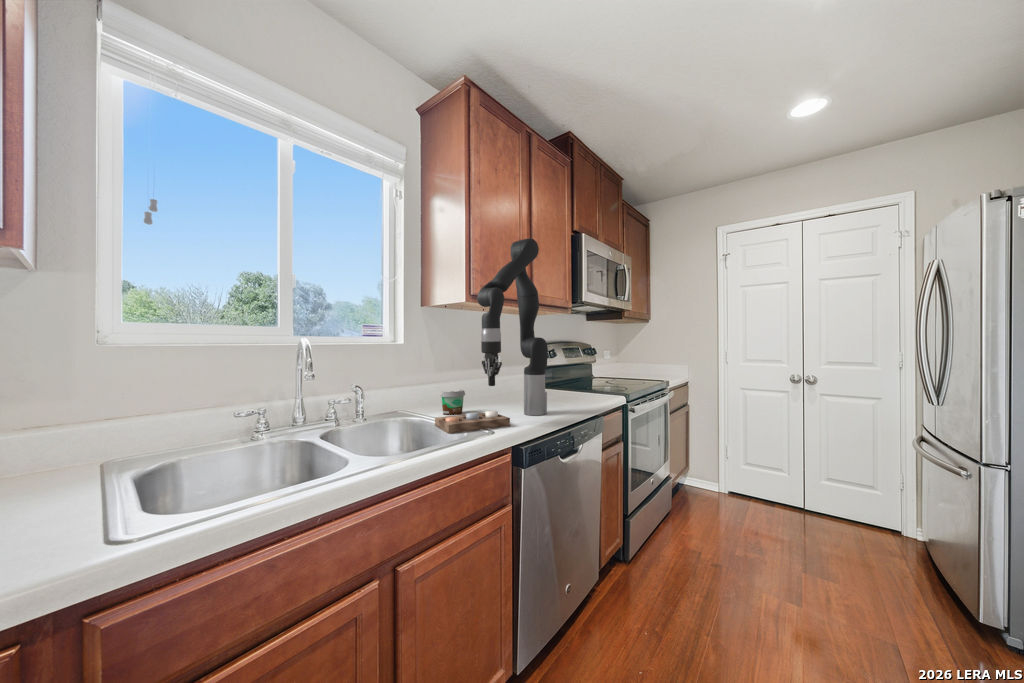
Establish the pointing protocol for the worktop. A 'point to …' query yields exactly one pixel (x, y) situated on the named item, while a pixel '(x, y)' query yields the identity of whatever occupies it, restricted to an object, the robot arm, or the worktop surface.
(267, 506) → the worktop surface
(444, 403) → the food container
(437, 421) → the button panel
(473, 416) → the slate button
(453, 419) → the terracotta button
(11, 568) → the worktop surface
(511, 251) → the robot arm
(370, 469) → the worktop surface
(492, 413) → the cream button
